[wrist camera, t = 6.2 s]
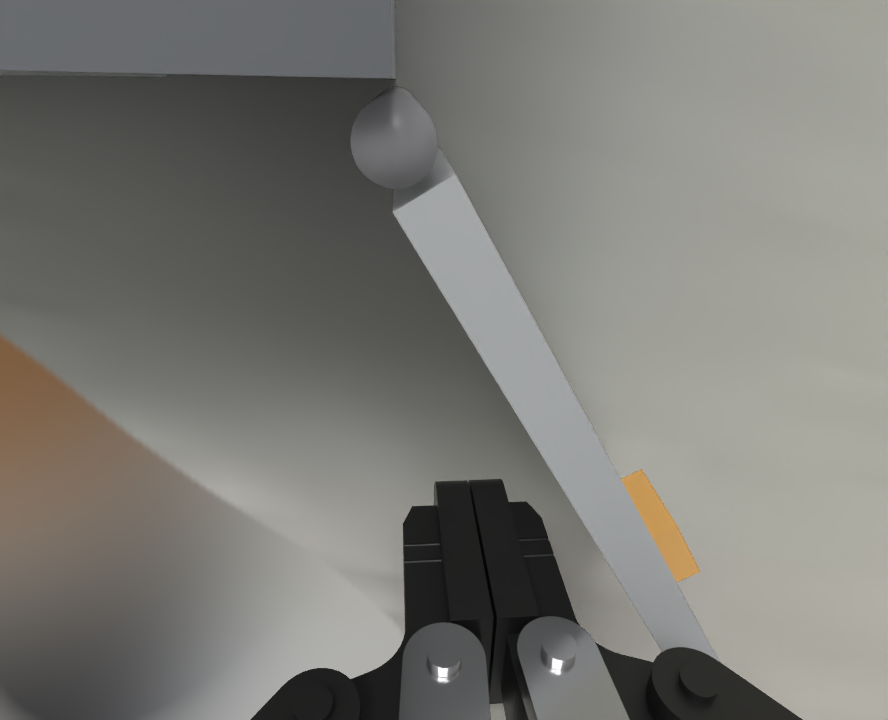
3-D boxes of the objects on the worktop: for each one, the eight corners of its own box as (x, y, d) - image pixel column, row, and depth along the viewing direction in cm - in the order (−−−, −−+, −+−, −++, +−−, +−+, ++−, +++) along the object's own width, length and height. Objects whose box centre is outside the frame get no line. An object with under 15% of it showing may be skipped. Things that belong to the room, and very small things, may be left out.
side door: (584, 475, 17) (695, 713, 11) (367, 101, 12) (332, 126, 6) (627, 454, 17) (769, 684, 10) (425, 64, 12) (457, 44, 5)
